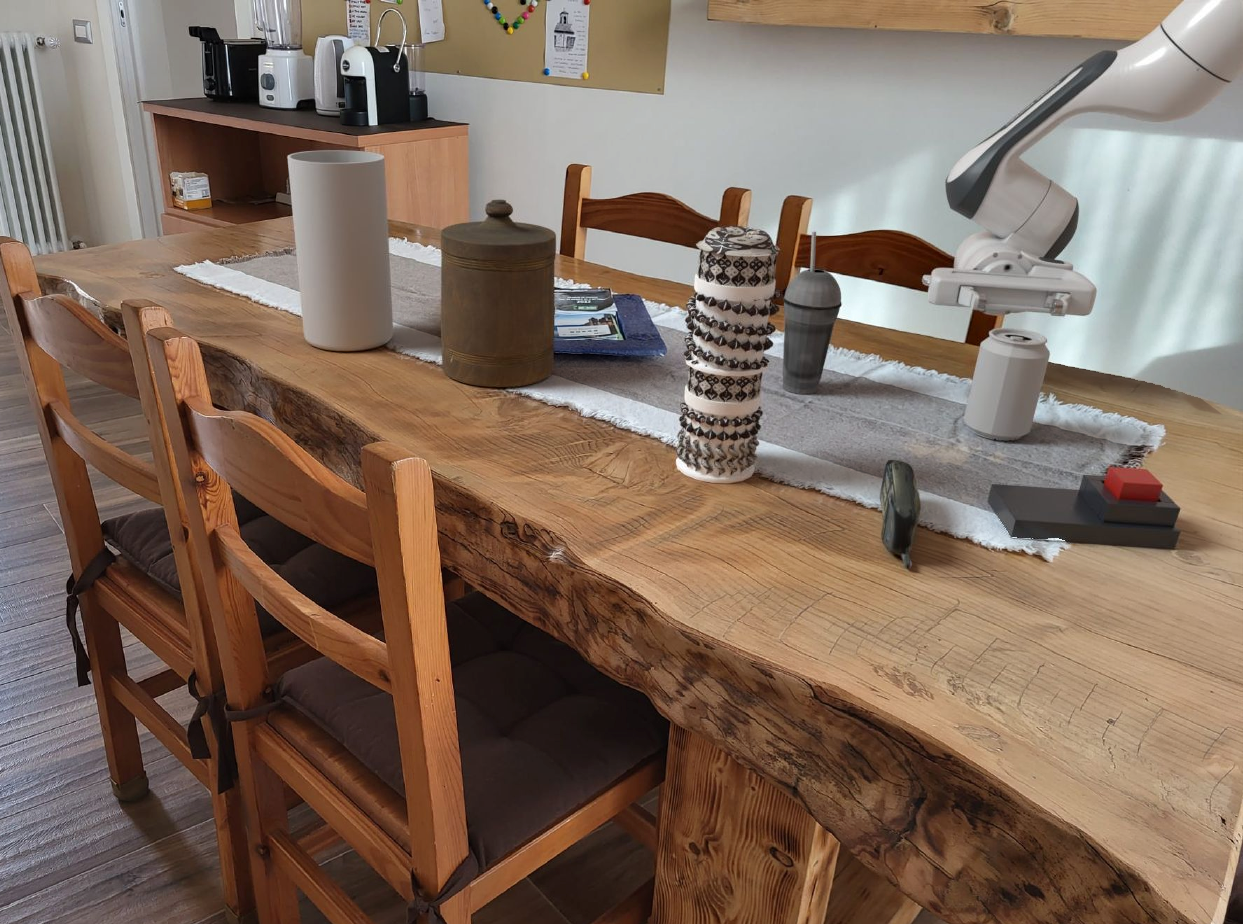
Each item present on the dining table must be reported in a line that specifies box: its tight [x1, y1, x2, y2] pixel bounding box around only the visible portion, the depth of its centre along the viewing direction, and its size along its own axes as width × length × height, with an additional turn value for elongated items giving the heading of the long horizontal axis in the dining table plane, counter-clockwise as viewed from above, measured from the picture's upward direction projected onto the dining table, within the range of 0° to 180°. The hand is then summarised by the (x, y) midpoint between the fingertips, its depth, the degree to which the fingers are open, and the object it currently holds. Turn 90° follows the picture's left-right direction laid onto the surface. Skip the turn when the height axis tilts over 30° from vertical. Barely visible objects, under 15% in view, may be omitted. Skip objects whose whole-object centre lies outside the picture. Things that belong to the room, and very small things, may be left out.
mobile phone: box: [879, 459, 922, 570], centre depth 93 cm, size 5×3×15 cm
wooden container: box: [440, 199, 557, 388], centre depth 128 cm, size 15×15×22 cm
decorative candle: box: [675, 225, 783, 484], centre depth 101 cm, size 9×9×25 cm
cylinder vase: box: [286, 149, 394, 352], centre depth 137 cm, size 12×12×25 cm
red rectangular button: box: [1104, 466, 1164, 502], centre depth 95 cm, size 4×4×2 cm
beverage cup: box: [782, 231, 843, 395], centre depth 126 cm, size 7×7×20 cm
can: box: [963, 327, 1051, 442], centre depth 116 cm, size 8×8×12 cm
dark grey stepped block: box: [987, 474, 1181, 551], centre depth 96 cm, size 15×8×4 cm, turn 85°
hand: (1019, 306), depth 123 cm, fingers open, 8 cm apart
